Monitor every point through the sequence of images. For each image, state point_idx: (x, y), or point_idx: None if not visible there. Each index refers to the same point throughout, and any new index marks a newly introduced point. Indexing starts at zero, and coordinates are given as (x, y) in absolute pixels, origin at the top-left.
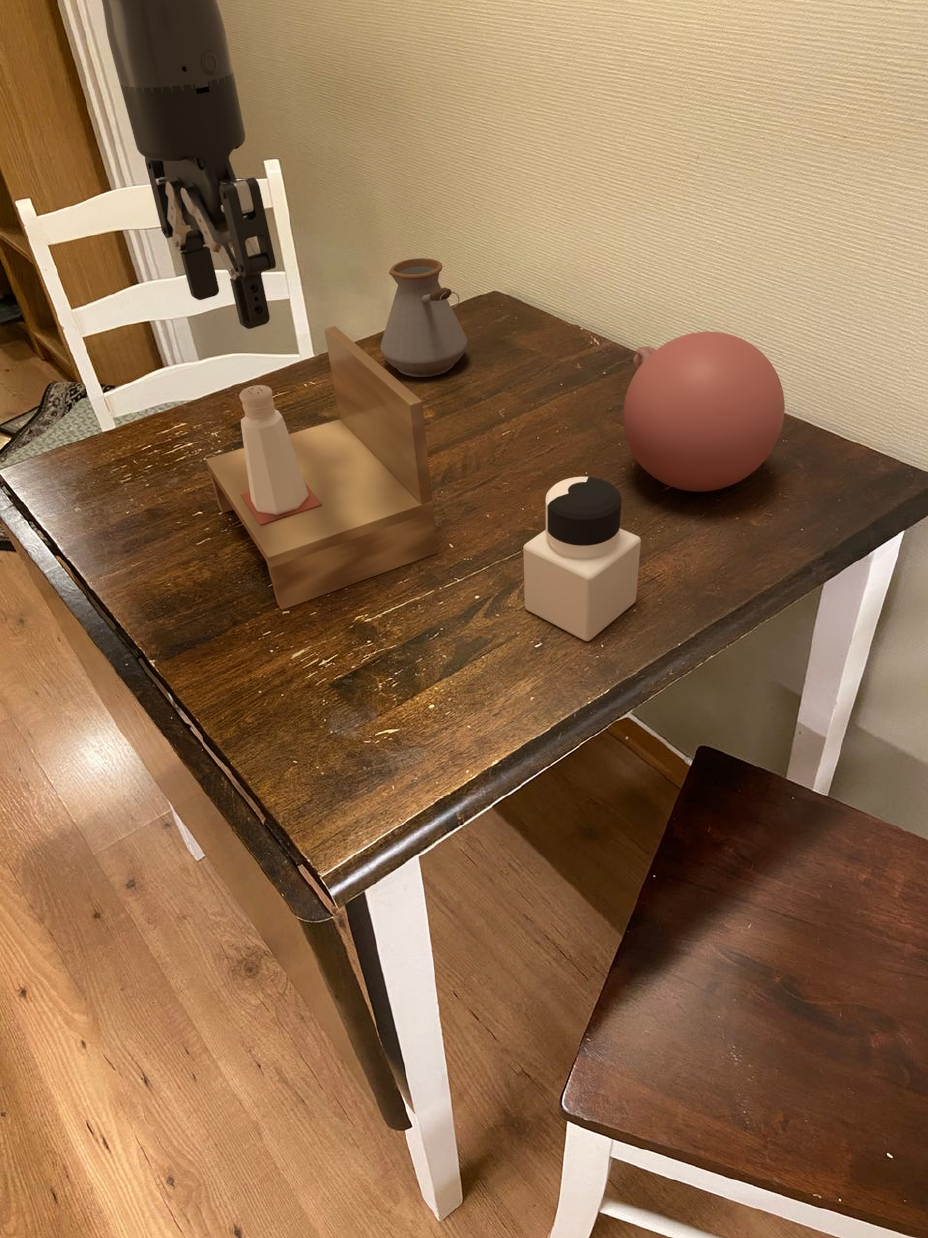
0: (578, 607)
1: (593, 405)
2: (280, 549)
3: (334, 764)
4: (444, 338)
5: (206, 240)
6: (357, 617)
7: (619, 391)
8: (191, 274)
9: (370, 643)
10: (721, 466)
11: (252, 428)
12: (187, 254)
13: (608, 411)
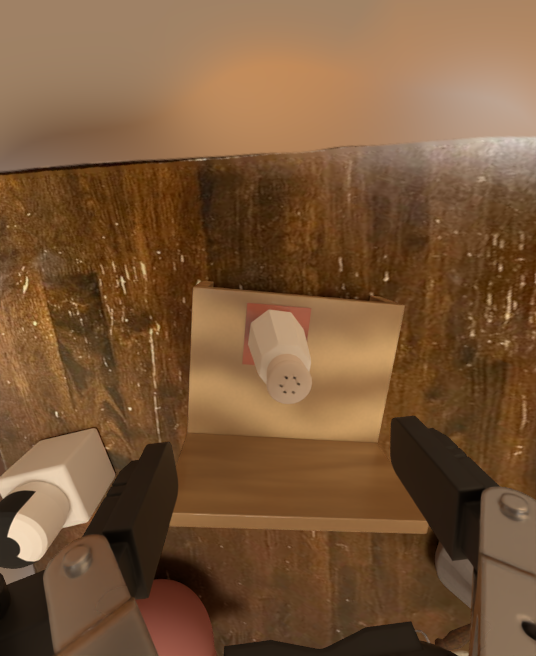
0: (27, 456)
1: (301, 600)
2: (197, 301)
3: (12, 237)
4: (453, 581)
5: (144, 633)
6: (158, 326)
7: (305, 623)
8: (422, 455)
9: (123, 320)
10: None
11: (268, 350)
12: (457, 497)
13: (285, 602)
